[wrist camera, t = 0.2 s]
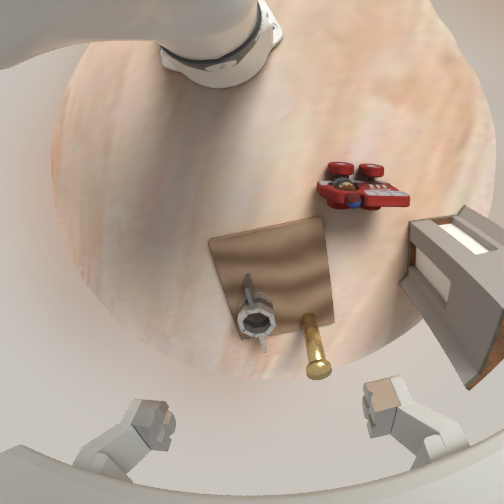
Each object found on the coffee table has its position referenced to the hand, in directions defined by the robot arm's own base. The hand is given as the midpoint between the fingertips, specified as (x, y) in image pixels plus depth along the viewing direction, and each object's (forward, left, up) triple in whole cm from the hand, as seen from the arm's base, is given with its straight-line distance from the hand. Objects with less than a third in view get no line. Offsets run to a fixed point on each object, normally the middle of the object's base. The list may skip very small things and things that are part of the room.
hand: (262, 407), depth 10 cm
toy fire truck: (+2, +14, -39) cm, 42 cm away
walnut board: (+18, -1, -39) cm, 43 cm away
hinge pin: (+26, +3, -38) cm, 46 cm away
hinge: (+21, -6, -38) cm, 44 cm away
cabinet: (+14, +28, -39) cm, 50 cm away
